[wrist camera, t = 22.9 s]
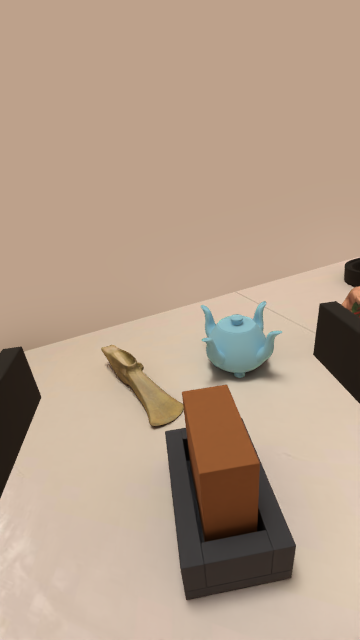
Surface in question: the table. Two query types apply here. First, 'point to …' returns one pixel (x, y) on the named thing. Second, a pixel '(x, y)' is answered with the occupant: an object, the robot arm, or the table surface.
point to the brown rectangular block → (221, 463)
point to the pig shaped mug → (353, 301)
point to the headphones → (352, 272)
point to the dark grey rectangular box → (228, 553)
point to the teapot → (238, 341)
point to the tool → (143, 387)
